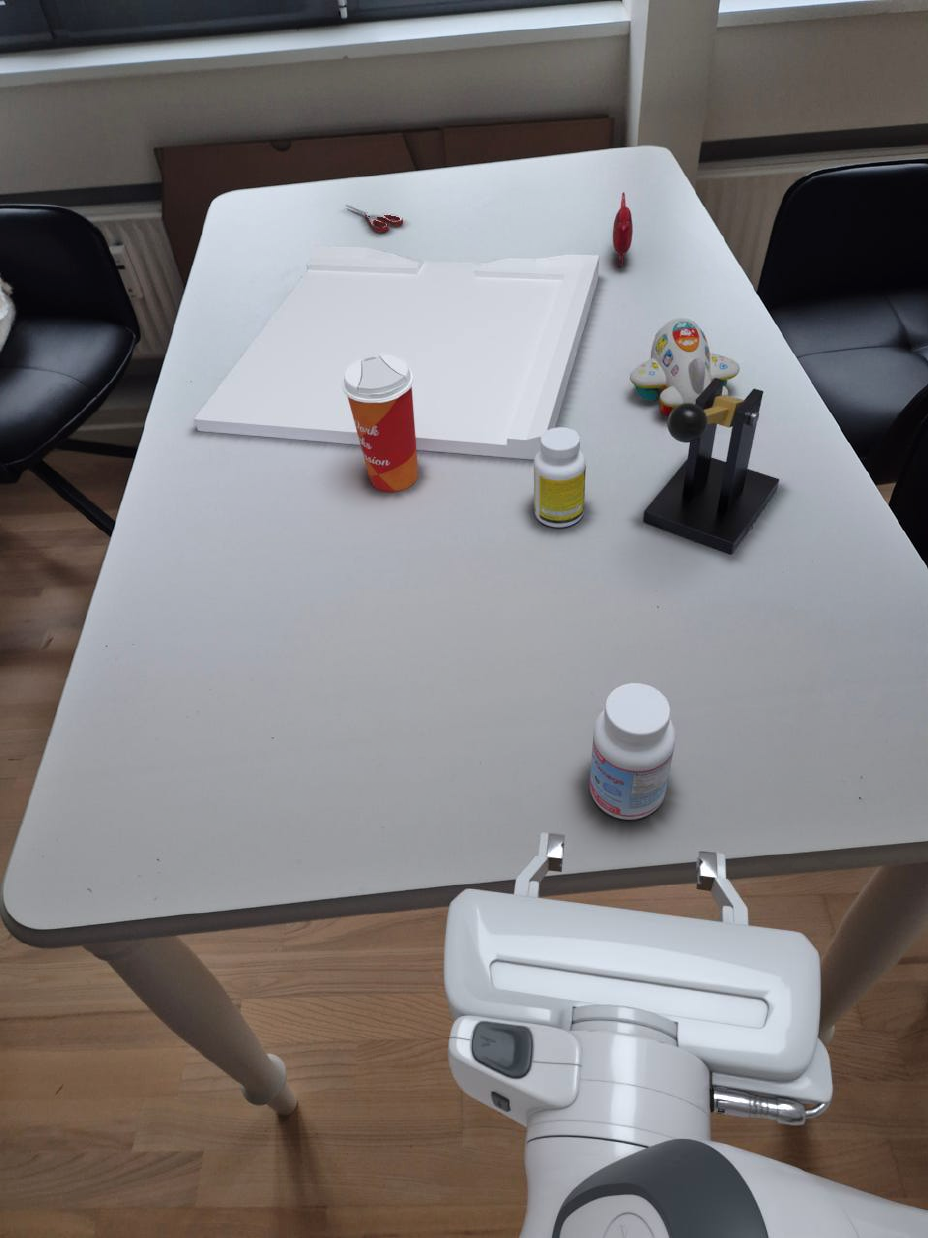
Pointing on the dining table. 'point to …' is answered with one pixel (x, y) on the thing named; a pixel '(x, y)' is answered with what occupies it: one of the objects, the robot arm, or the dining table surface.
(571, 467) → the supplement bottle
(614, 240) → the decorative bird figurine
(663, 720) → the pill bottle
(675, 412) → the lever with black knob
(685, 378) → the toy airplane
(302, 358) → the tray
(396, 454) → the paper cup
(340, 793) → the dining table surface
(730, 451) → the black lever stand
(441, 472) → the dining table surface
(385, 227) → the scissors
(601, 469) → the dining table surface
